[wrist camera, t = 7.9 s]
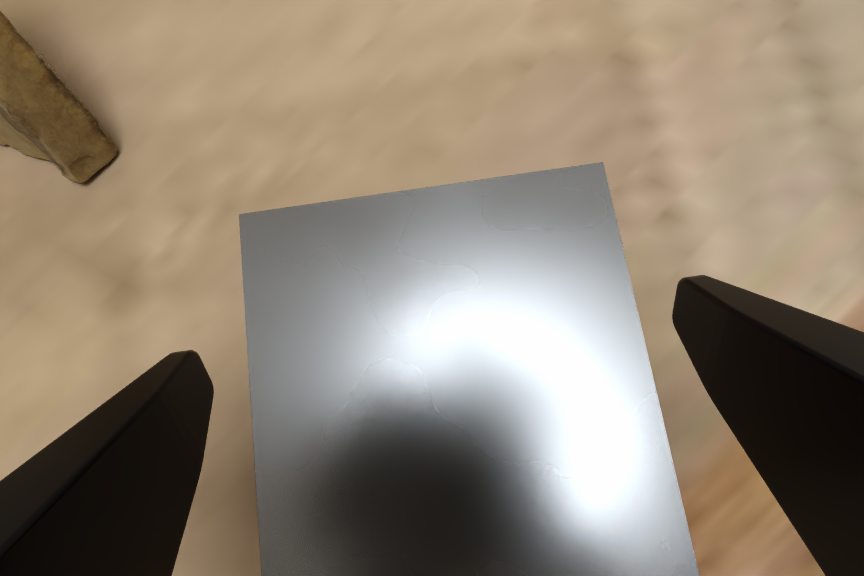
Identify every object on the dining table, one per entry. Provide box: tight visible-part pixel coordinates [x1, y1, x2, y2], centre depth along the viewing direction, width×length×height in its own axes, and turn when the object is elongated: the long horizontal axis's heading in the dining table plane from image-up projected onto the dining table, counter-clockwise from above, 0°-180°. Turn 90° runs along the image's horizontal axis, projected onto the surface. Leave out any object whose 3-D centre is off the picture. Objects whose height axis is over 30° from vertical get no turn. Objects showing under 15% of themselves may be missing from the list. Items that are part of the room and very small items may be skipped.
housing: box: [239, 162, 699, 576], centre depth 12 cm, size 6×5×11 cm
